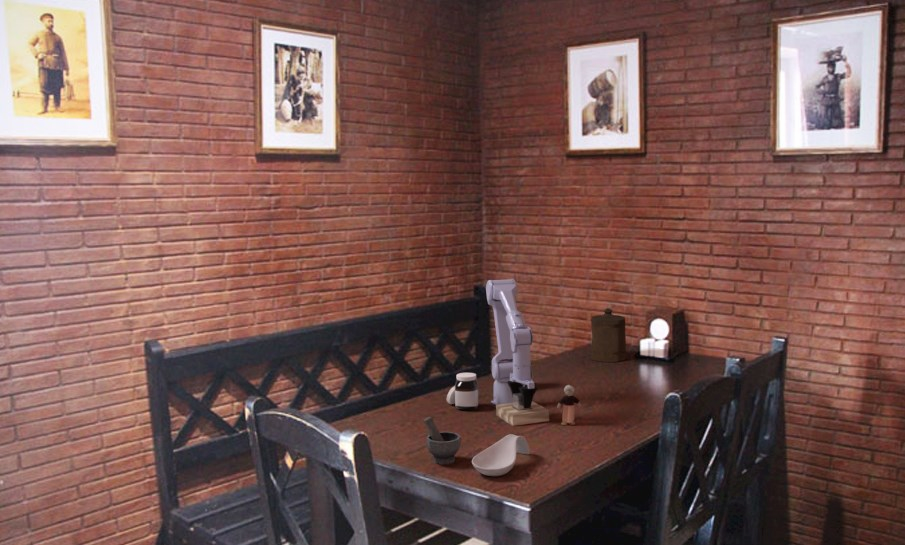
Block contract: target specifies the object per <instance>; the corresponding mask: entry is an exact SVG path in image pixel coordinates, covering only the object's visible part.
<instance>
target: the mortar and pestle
mask: <svg viewBox="0 0 905 545" xmlns="http://www.w3.org/2000/svg"><path fill="white" fill-rule="evenodd" d="M423 424H425V426H426V429H427V431H428V433H429V434H428V435H427V436H426V437H425V443H426V448H427V450H428V452H429V453H430V454H431V455H432V456H433V458H432V462H433V461H434V462H433V463H434V464H436V463H439V464H438V465H450V464H453V463H455V461H456V454H457V453H458V452H459V449H460V448H461V443H462V435H460V434H459V433H458V432H452V431H439V429H438V427H437V425H436V424H435V421H434V418H433V417H432V416H429V417H426V418H425V419H424V420H423ZM449 463H450V464H449Z"/></svg>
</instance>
